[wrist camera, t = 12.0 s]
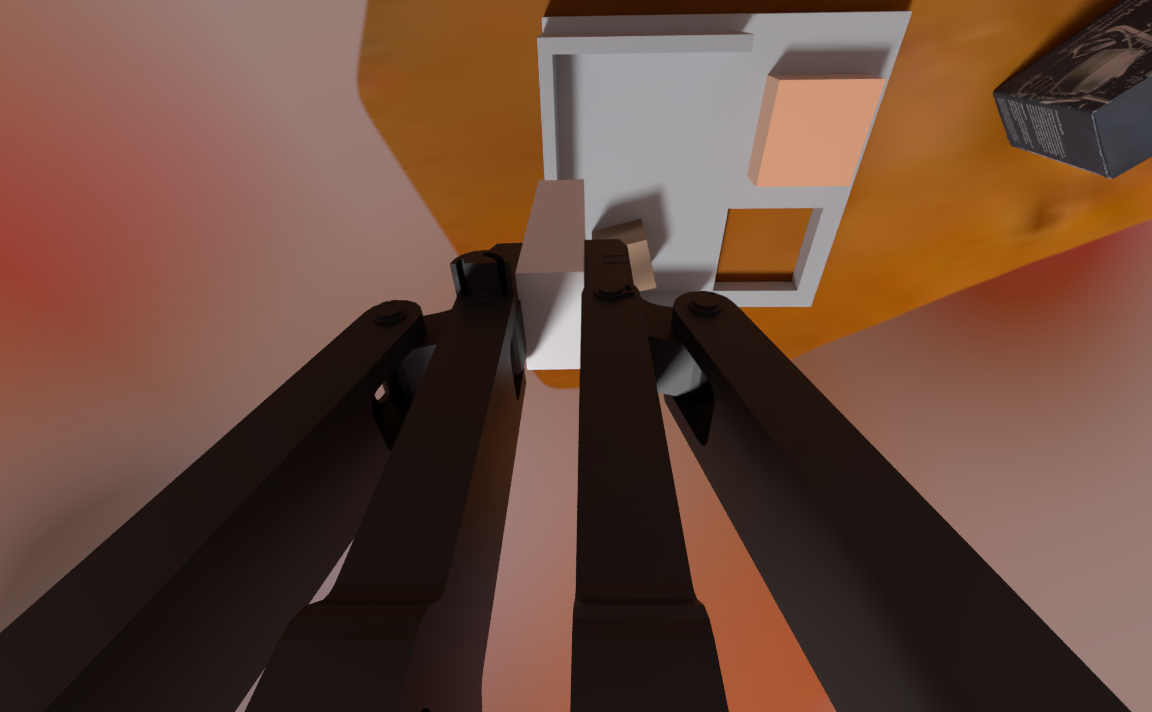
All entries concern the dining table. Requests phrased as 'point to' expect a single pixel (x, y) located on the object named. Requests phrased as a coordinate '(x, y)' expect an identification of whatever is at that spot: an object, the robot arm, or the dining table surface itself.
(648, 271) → the walnut block
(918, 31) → the dining table surface
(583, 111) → the cubby deck
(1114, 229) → the dining table surface
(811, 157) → the terracotta tile
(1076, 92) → the box
